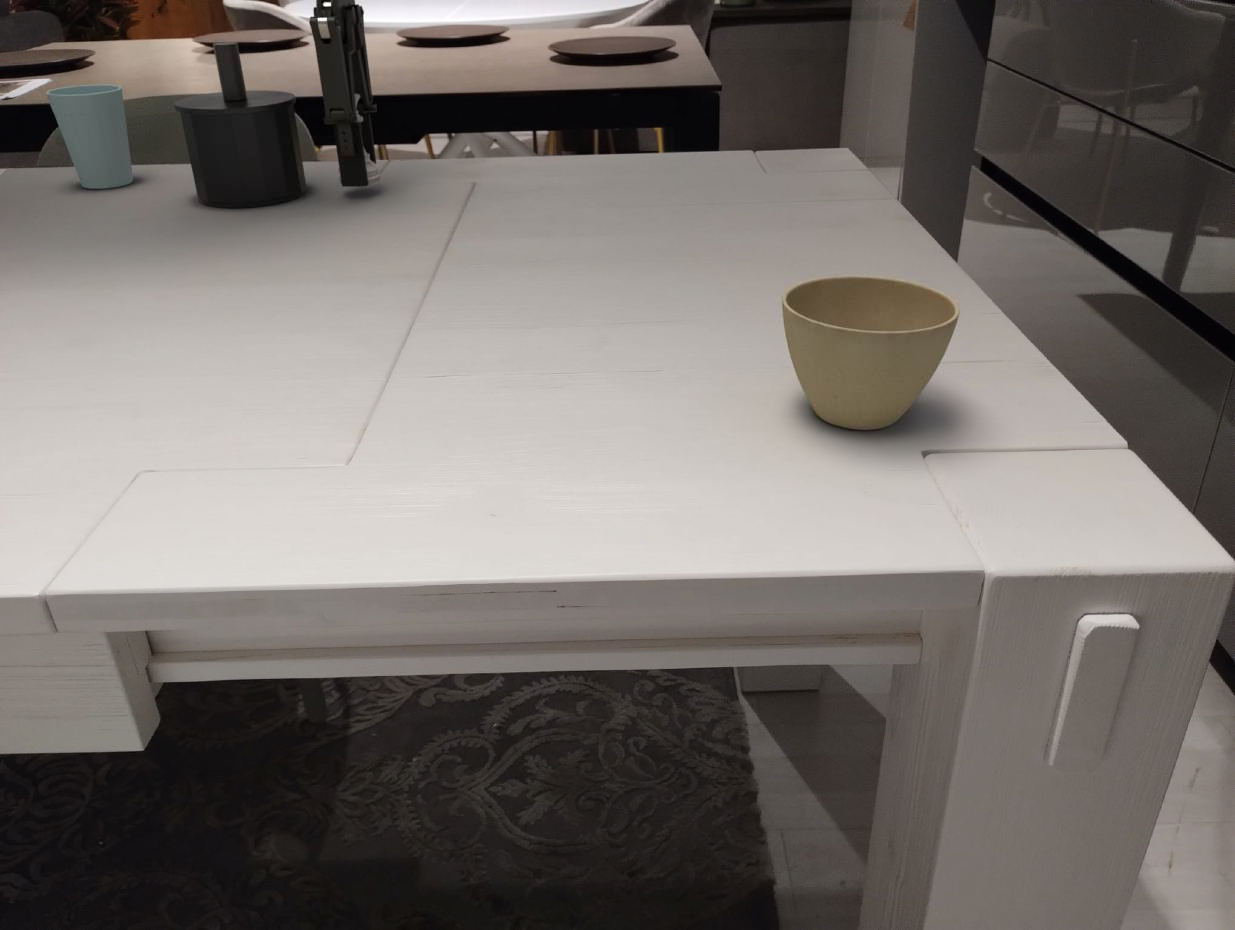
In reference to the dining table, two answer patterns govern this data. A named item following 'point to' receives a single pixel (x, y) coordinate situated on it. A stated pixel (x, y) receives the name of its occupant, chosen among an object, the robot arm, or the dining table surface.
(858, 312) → the flower pot
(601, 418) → the dining table surface
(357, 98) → the chess piece
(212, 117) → the pot
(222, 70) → the pot lid
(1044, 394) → the dining table surface
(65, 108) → the cup
